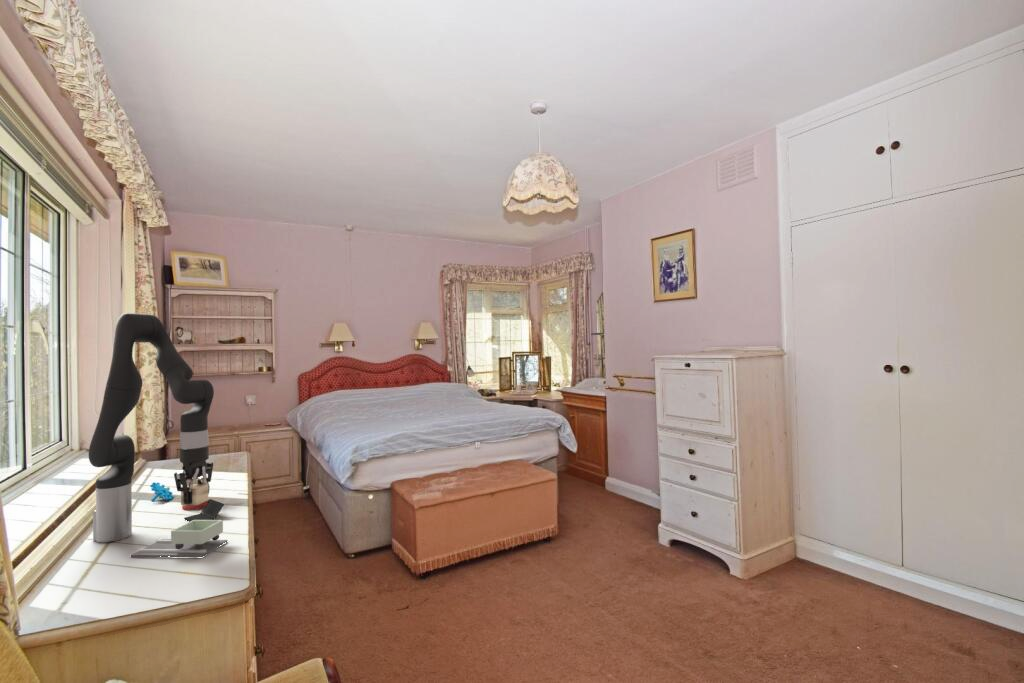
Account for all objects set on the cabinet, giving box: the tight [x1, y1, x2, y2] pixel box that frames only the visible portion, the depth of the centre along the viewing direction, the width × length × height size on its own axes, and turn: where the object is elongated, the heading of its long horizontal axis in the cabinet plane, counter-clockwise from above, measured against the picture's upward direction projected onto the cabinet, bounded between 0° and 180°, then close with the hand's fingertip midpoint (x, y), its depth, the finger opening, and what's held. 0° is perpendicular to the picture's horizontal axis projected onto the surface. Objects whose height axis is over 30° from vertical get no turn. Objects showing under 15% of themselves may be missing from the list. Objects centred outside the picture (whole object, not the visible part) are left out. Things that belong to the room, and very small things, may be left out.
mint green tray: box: [170, 519, 224, 550], centre depth 152 cm, size 10×10×6 cm
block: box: [180, 484, 209, 506], centre depth 152 cm, size 5×5×5 cm
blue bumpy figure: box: [149, 482, 174, 502], centre depth 204 cm, size 11×6×10 cm
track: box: [130, 538, 229, 558], centre depth 153 cm, size 22×12×1 cm, turn 86°
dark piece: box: [183, 498, 225, 522], centre depth 181 cm, size 12×7×10 cm
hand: (194, 500), depth 152 cm, fingers closed on block, 5 cm apart
